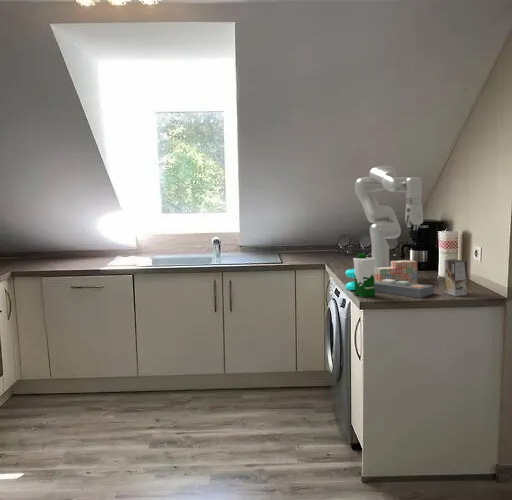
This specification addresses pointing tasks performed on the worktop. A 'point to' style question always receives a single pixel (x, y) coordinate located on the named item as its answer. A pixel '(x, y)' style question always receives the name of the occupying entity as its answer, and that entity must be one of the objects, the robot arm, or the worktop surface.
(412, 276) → the stack of blocks
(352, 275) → the donuts
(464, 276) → the coffee box
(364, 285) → the milk carton
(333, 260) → the worktop surface
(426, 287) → the key panel
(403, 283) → the sage key
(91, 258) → the worktop surface
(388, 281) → the cream key
